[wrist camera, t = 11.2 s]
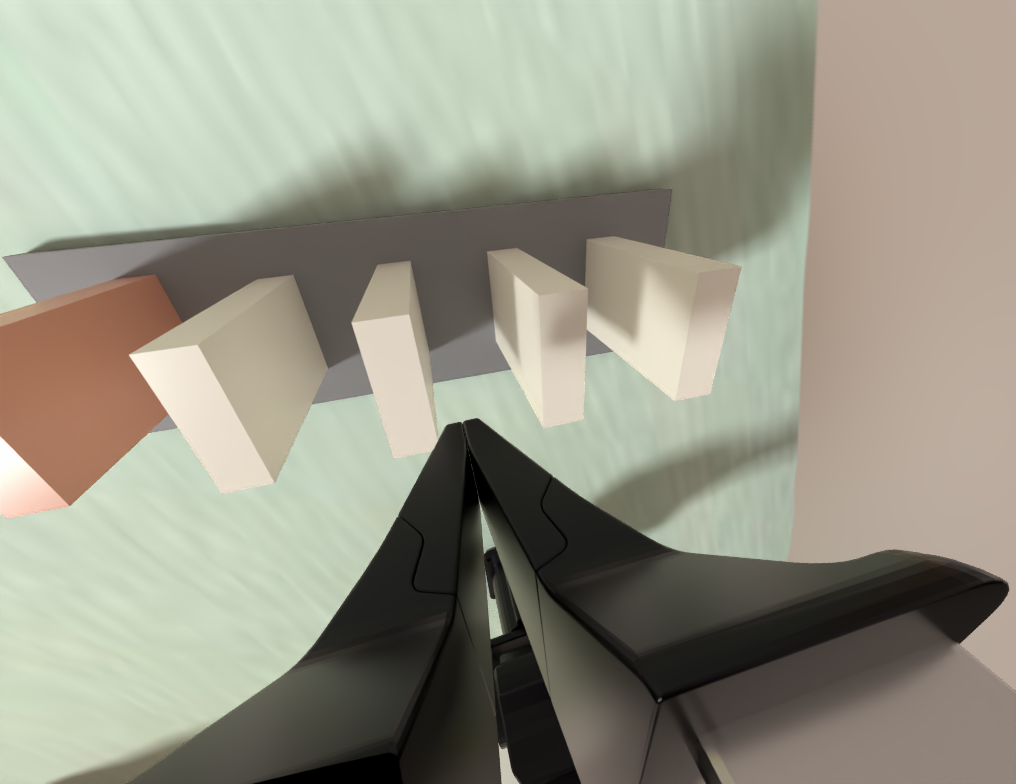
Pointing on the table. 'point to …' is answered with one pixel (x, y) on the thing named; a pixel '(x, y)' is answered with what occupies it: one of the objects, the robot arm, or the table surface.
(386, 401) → the domino
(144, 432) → the brick domino
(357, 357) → the board
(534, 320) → the domino
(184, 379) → the domino
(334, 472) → the table surface
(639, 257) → the domino
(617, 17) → the table surface
